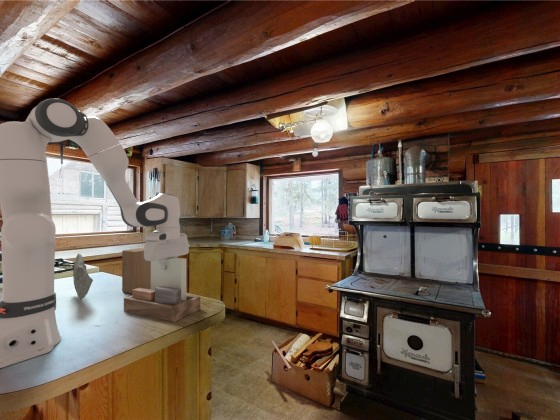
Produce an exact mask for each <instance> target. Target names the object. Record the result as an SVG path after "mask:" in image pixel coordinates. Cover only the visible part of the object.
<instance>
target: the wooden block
mask: <svg viewBox="0 0 560 420" xmlns="http://www.w3.org/2000/svg"><path fill="white" fill-rule="evenodd" d="M121 257H122V258H121V261H122V262H121V265H122V268H121V271H122V272H121V273H122V274H121V279H122V281H121V283H122V284H121V288H122V290H121V291H122V293H127V294H132V290H133V289H137V288H143V289H150V290H151V261H146V260H145V258H144V247H137V248H131V249H123V250H122V251H121Z"/></svg>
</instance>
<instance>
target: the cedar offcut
mask: <svg viewBox="0 0 560 420" xmlns="http://www.w3.org/2000/svg"><path fill="white" fill-rule="evenodd" d="M131 296H132V298H135V299H141V300H146V301H152V302H155V290H150V289H143V288H137V289H133V290H132V295H131Z"/></svg>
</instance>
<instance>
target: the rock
mask: <svg viewBox="0 0 560 420" xmlns="http://www.w3.org/2000/svg"><path fill="white" fill-rule="evenodd" d="M72 270H73V271H72V275H73V279H72V280H73V285H74V289H75V292H76V295H77V297H78V298H79V300H80V301H81V300H82V299H84V298H85V297H86V296H87V295H88V293H89V291H90V288H91V287H92V284H93V282H94V279H93V278H91V276H90V274H89V273H88V270H87V268H86V264H85V261H84V257H83V255H82V254H80V253H79V252H78V254H77V255H76V257H75V261H74V266H73V269H72Z"/></svg>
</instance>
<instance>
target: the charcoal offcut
mask: <svg viewBox="0 0 560 420" xmlns="http://www.w3.org/2000/svg"><path fill="white" fill-rule="evenodd" d="M155 302H158V303H163V304H169V305H174V306H175V305H177V304H180V303H181V289H178V288H171V287H165V286H160V287H156V288H155Z"/></svg>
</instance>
